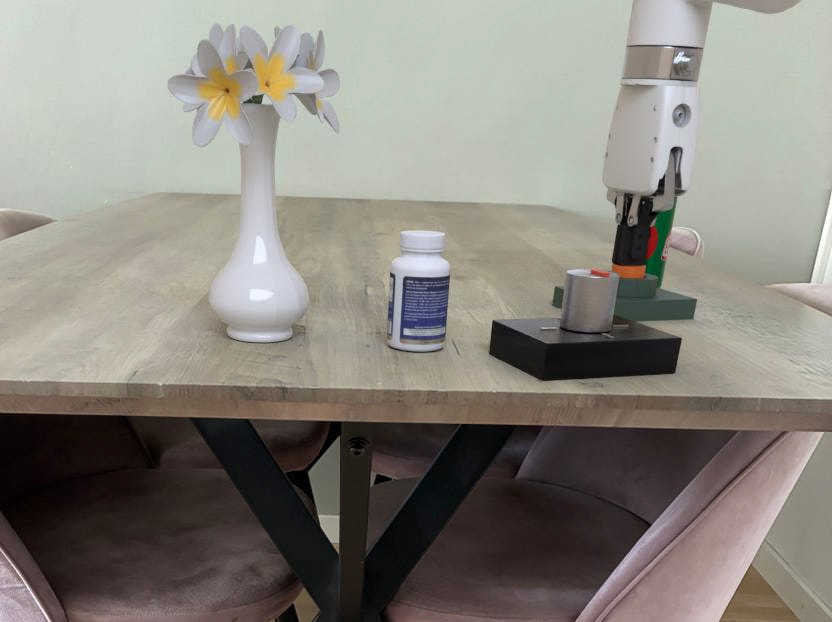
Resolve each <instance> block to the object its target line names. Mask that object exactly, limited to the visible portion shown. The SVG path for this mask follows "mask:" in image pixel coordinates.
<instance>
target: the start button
mask: <svg viewBox="0 0 832 622" xmlns="http://www.w3.org/2000/svg"><path fill="white" fill-rule="evenodd" d="M645 269H646V266H645V265H642V266H620V265H618V264H613V263H612V264H611V269H610V271H611V272H614V273H617V274H619V277H622V278H644V275H645Z"/></svg>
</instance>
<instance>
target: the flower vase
mask: <svg viewBox="0 0 832 622" xmlns="http://www.w3.org/2000/svg"><path fill="white" fill-rule="evenodd" d="M273 33H274V41H273V43H272V45H271V47H270V50H269V49H268V45H267V43H266V41H265V40H264V38H263V36H261V35H260V33H259V32H258V31H257V30H255V29H254V28H252V27H251V26H249V25H247V24H246V25H245V24H243V25H241V26H240V27H239V29H238V36H237V28H236V24H234V23H229V24H228V26H227V27H226V28H225V30H223V28H222V26H221V24H219V23H218V22H215V23H213V24H212V25H211V27H210V29H209V33H208V39H207V38H203V39H202V38H201V40H200V41H199V43H198V44H197V46H196V53H194V55H193V56H192V58H191V59H190V66H189V67H188V68H186V71H185V72H184V73H179V74H174V75H173V76H171V77H169V79H168V80H167V89H168V91H169V93H170V94H171V95H172V96H174V97H175V98H176V99H177V100H179V101H180V102H183V106H182V110H183V112H184V113H190V112H193V111H196V114H195V116H194V119H193V122H192V128H191V137H192V142H193V143H194V145H195V146H197V147H198V148H204V147H206V146H209V144H211V143H212V141H213V140H214V139H215V137H216V136H217V135H218V133H219V132H220V128H221V127H222V125H223V123H224V125H225V127H226V130H227V131H228V133H229V134H230V136H231V137H232V138H233V139H234V140H235V141H236V142H237V143H238V147H239V156H240V213H239V227H238V234H237V237H236V241H235V245H234V248H233V249H232V252H231V256H230V258H229V259H228V261H227V262H226V263H225V265H224V266H223V267H222V268H221V269H220V270H219V272H218V273H217V274H216V276H215V277H214V279H213V281H212V283H211V286H210V288H209V291H208V305H209V307H210V308H211V310H212V312H213V313H214V315H215V316H216V317H217V319H219V320H220V321H221V322H222V323H223V324H225V325H226V326H227V328H226V334H227V336H228V337H229V338H231V339H233V340H237V341H239V342H245V343H247V342H248V343H261V344H263V343H277V342H283V341H286V340H289V339H291V338H292V337H293V335H294V329H293V328H292V327H293V326H295V325H296V324H298V323H299V322H301V320H302V319H303V318H304V317H305V315H306V314H307V313H308V310H309V308H310V302H311V298H310V296H311V295H310V292H309V289H308V286H307V283H306V282H305V280H304V278H303V277H302V275H301V274H300V273H299V272H298V271H297V270H296V269H295V267H294V266H293V265H292V263H291V262H290V260H289V259H288V257H287V254H286V252H285V249H284V247H283V243H282V240H281V236H280V232H279V231H280V230H279V226H278V225H279V224H278V216H277V198H276V197H277V193H276V150H277V140H278V133H279V127H280V123H281V120H283V121H284V122H287V123H294V121H295V120H297V119H296V118H297V114H298V113H297V112H298V107H297V102H296V100H295V97H296V99H297V100H298V101H299V102H300V103H301V104H302V105H303V106H304V108H305V109H306V110H307V111H308V113H309V114H311V115H312V116H317V117H318V120H319V121H320V123H321V124H324V122H325V121H326V122H327V123H328V125H329V126H330V127H331V128H332V129H333V131H334V132H335V133H336V134H339V133H340V131H341V130H340V124H339V119H338V116H337V113H336V111H335V108H334V107H333V105H332V104H331V103H330V102H329V101H328V100H327V99H325V98H331V97H334V96H335V95H337V93H338V91H339V90H340V86H341V81H340V76H339V74H338V71H336V70H335V69H333V68H325V69H321V68H322V66H323V64H324V60H325V54H326V53H325V51H326V44H325V35H324V32H323V30H322V29H320V30H319V31H318V33H317V36H316V39H315V41H314V37H313V35H312V34H311V33H310V32H308V31H305V32H302V34H300V31H299V29H298V28H297V26H295V25H293V24H288V25H286V26H284V27H283V28H281V27H280V26H278V25H276V26H275V27H274V29H273ZM320 69H321V70H320ZM265 95H266V97H267V98H268V99H269V101H270V102H271V103H263V99H264V97H265ZM293 95H294V96H293Z"/></svg>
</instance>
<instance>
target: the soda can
mask: <svg viewBox="0 0 832 622" xmlns="http://www.w3.org/2000/svg"><path fill="white" fill-rule="evenodd" d="M678 197H679V196H674V206H673V208H672V209H671V210H667V211H663V212H660V213H659V214H658V216H657V219H656V222H655V225H654V226H653V227H651V230H650V236H649V241H648V247H647V252H646V258H645V263H644V264H643V265H645V266H646V269H645V273H647V274H651V275H655V276H657V277H658V283H657V288H660V289H661V287H663V286H662V285H663V280H664V276H665V271H666V263H667V259H668V252H669V247H670V242H671V237H672V231H673V225H674V221H675V215H676V209H677V203H678Z"/></svg>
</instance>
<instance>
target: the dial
mask: <svg viewBox="0 0 832 622" xmlns="http://www.w3.org/2000/svg"><path fill="white" fill-rule="evenodd" d="M610 271H611V270H601V269H598V268H595V269H592V268H575V269H569V270H567V271H566V274H565V282H564V286H565V288H564V296H563V303H562V309H560V310H561V311H560V317H561V318H560V327H561V328H564V329H566V330H571V331H576V332H585V333H602V332H608V331H610V330H611V326H612V319H613V313H614V307H615V301H616V295H617V288H618V282H619V274H617V273H614V272H610Z"/></svg>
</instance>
